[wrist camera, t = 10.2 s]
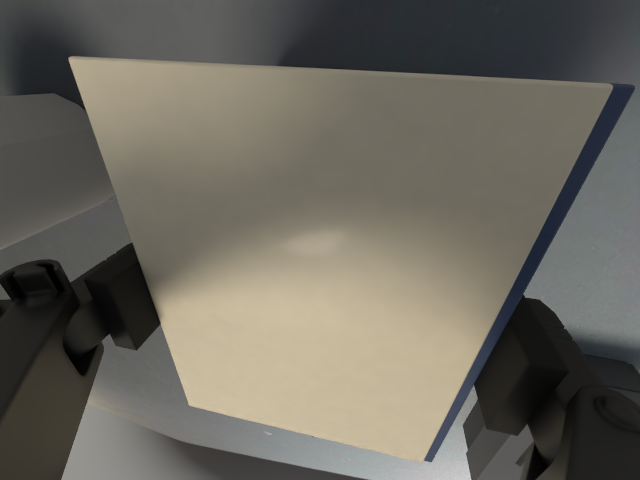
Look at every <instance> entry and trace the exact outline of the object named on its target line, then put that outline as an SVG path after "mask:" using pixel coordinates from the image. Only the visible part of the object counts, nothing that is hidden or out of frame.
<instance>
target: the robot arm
mask: <svg viewBox="0 0 640 480" xmlns="http://www.w3.org/2000/svg"><path fill="white" fill-rule="evenodd" d="M0 284H1V285H2V287H3V288H4V290H5V291H6V292H7V294H8V295H9V297H10V298H11V299H10V300H0V480H61V478H62V475H63V472H64V469H65V466H66V463H67V460H68V457H69V454H70V451H71V448H72V445H73V442H74V439H75V436H76V433H77V430H78V427H79V424H80V421H81V418H82V415H83V412H84V409H85V406H86V403H87V400H88V397H89V394H90V391H91V388H92V385H93V382H94V379H95V376H96V373H97V370H98V367H99V364H100V361H101V358H102V355H103V352H104V346H103V344H102V342H101V341H102V340H103V339H104V338H105V337H106V336H107V335H108V334H109V333H110V335H111V337H112V339H113V341H114V343H115V345H116V346H119V347H123V348H128V349H132V350H138V348H139V347H140V346H141V345H142V344H143V343H144V342H145V341H146V340H147V338H148V337H149V336H150V335H151V334H152V333H153V332H154V331H155V330H156V328H157V327H158V326H159V325H160V324H161V323H160V320H159V317H158V314H157V311H156V309H155V306H154V303H153V300H152V297H151V294H150V291H149V289H148V286H147V283H146V280H145V277H144V274H143V271H142V269H141V266H140V263H139V260H138V257H137V254H136V251H135V249H134V246H133V243H130V244H128V245H126V246H125V247H123V248H122V249H120V250H119V251H117V252H116V254H113V255H111V256H110V257H108V258H107V260H106V261H105V260H104V261H102V262H101V263H99V264H98V265H96V266H95V267H93V268H92V269H90V270H89V271H87V272H86V273H84V274H83V275H81V276H80V277H78V278H77V279H75V280H74V281H72V282H71V283H70V282H69V280H68V278H67V276H66V274H65V272H64V270H63V268H62V266H61V265H60V263H59V262H58V261H55V260H50V259H49V260H37V261H32V262H27V263H24V264H21V265H19V266H16V267H14V268H12V269H10V270H8V271H6V272H4V273H3V274H1V275H0ZM474 386H475V390H476V394H477V397H478V401H479V404H480V408H481V412H482V415H483V419H484V423H485V426H486V429H488V430H492V431H496V432H501V433H505V434H510V435H514V436H518V435H519V434H520V433H521V431H522V430H523V429H524V428H525V426H526V425H527V424H528V427H529V429H530V432H531V434H532V437H533V440H534V441H533V442H532V443H531V445H530V446H529V447H528V448H527V449H526V450H525V451H524V453H523V454H522V455H521V456H520V457H519V459H518V460H517V462H516V463H515V464H517V465H518V466H519V467H521V466H522V464H523V463H524V465H523V469H522V473H521V477H520V480H640V406H639V405H637V404H636V403H635V402H634V401H632V400H631V399H629V398H628V397H626V396H624V395H623V394H621V393H619V392H618V391H615V390H613V389H610V388H608V387H606V386H605V385H604V383H603V382H602V381H601V379H600V378H599V376H598V375H597V373H596V372H595V370H594V369H593V367H592V366H591V365H590V363H589V362H588V360H587V359H586V357H585V356H584V354H583V353H582V352H581V350H580V349H579V347H578V346H577V344H576V343H575V341H572V337H571V336H570V334H569V333H568V331H567V330H566V329H564V325H563V324H562V323H561V321H560V320H559V318H558V317H557V315H556V314H555V313H554V312H553V311H552V310H551V309H550V308H548V307H547V306H546V305H545V304H544V303H543V302H541V301H540V300H537V299H531V298H525V296H524V295H522V297H521V299H520V301H519V303H518V304H517V306H516V308H515V310H514V312H513V314H512V315H511V317H510V319H509V321H508V323H507V325H506V326H505V328H504V330H503V332H502V334H501V336H500V337H499V339H498V341H497V343H496V345H495V347H494V348H493V350H492V352H491V354H490V356H489V358H488V359H487V361H486V363H485V365H484V367H483V369H482V370H481V372H480V374H479V376H478V378H477V380H476V382H475V383H474Z"/></svg>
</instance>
